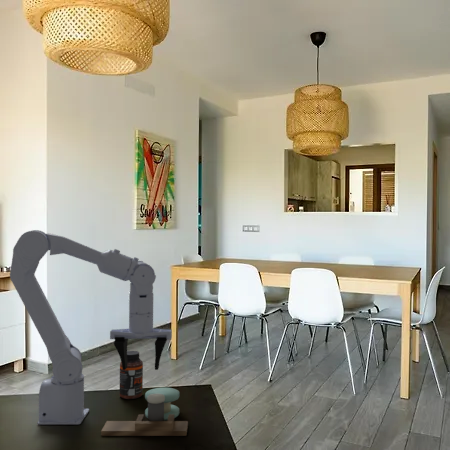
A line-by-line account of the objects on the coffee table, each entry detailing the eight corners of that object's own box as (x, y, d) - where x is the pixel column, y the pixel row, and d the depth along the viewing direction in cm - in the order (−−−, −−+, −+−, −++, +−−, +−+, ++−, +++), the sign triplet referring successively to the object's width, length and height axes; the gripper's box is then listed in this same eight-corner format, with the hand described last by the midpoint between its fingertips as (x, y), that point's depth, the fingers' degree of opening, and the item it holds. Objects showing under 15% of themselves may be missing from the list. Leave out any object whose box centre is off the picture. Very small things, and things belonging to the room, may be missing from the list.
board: (101, 435, 99) (101, 423, 99) (106, 425, 104) (106, 414, 104) (186, 435, 100) (186, 424, 100) (187, 425, 105) (188, 414, 105)
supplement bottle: (137, 401, 119) (137, 356, 119) (115, 399, 120) (115, 354, 120) (146, 392, 125) (146, 350, 125) (125, 391, 126) (125, 348, 126)
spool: (142, 420, 107) (142, 399, 107) (147, 407, 115) (147, 387, 115) (177, 420, 107) (177, 399, 107) (180, 407, 115) (180, 387, 115)
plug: (146, 427, 101) (146, 400, 101) (148, 420, 105) (148, 393, 105) (164, 427, 101) (164, 399, 101) (165, 420, 105) (165, 393, 105)
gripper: (107, 315, 109) (106, 373, 109) (169, 315, 109) (169, 373, 110) (113, 309, 116) (113, 364, 116) (172, 310, 117) (172, 364, 117)
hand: (140, 368), depth 113 cm, fingers open, 7 cm apart
